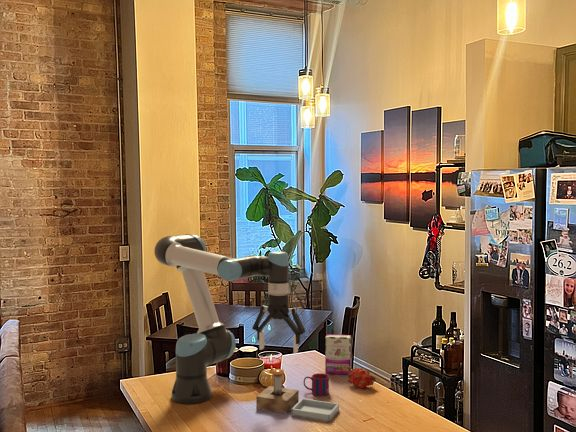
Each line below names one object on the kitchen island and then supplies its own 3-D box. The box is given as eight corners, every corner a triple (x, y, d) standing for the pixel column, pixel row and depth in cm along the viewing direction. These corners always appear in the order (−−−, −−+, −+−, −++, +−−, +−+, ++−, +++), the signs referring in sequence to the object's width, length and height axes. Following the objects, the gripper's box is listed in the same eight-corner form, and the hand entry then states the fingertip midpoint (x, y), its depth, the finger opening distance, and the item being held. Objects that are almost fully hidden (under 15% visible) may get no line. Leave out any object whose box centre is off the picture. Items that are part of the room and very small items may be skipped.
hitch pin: (270, 406, 213) (270, 371, 213) (274, 402, 217) (274, 368, 217) (281, 408, 212) (281, 373, 211) (285, 403, 216) (285, 369, 215)
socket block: (256, 408, 211) (256, 396, 211) (269, 397, 222) (269, 385, 222) (286, 413, 207) (286, 400, 207) (298, 401, 218) (298, 390, 218)
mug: (327, 396, 224) (327, 379, 223) (302, 394, 226) (302, 377, 226) (330, 390, 230) (330, 374, 230) (305, 388, 232) (305, 372, 232)
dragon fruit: (345, 388, 238) (373, 396, 234) (342, 381, 231) (371, 389, 227) (351, 368, 242) (379, 376, 238) (348, 361, 235) (377, 369, 231)
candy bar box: (351, 371, 254) (351, 335, 254) (350, 375, 249) (351, 337, 249) (326, 370, 256) (326, 333, 255) (324, 373, 251) (325, 336, 250)
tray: (291, 415, 204) (291, 409, 204) (302, 404, 215) (302, 398, 215) (329, 422, 199) (329, 414, 199) (338, 410, 210) (338, 403, 210)
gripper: (243, 293, 214) (243, 349, 215) (306, 297, 205) (306, 356, 205) (252, 290, 221) (252, 344, 222) (313, 294, 211) (313, 351, 212)
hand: (278, 350), depth 213 cm, fingers open, 13 cm apart
